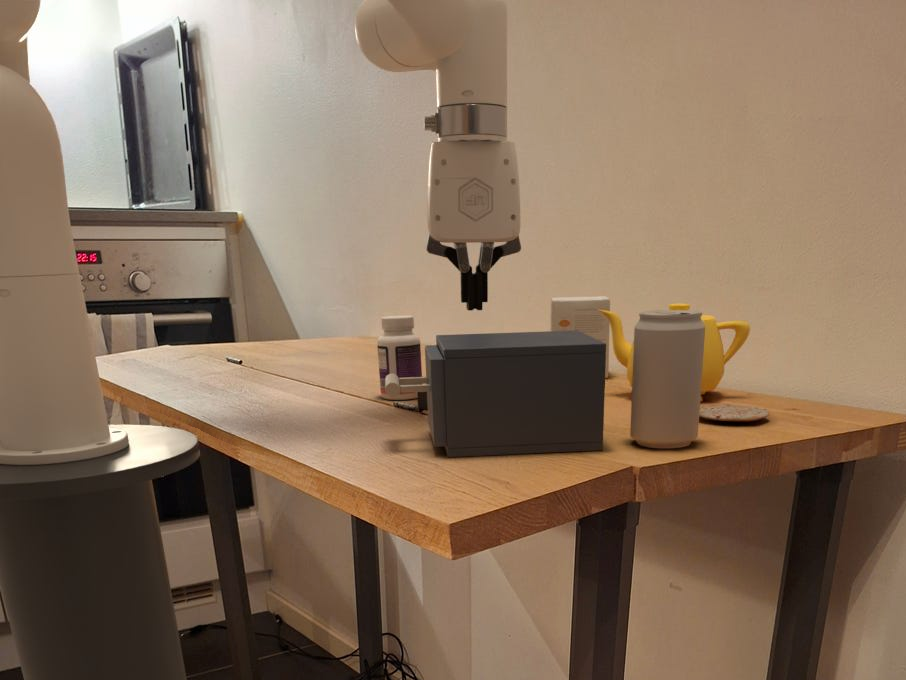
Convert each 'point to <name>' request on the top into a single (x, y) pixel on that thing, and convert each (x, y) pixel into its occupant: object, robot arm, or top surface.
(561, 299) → the small box
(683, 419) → the beverage can
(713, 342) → the teapot
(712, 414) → the flatbread
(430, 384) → the drawer
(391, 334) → the pill bottle
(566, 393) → the cabinet
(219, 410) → the top surface
